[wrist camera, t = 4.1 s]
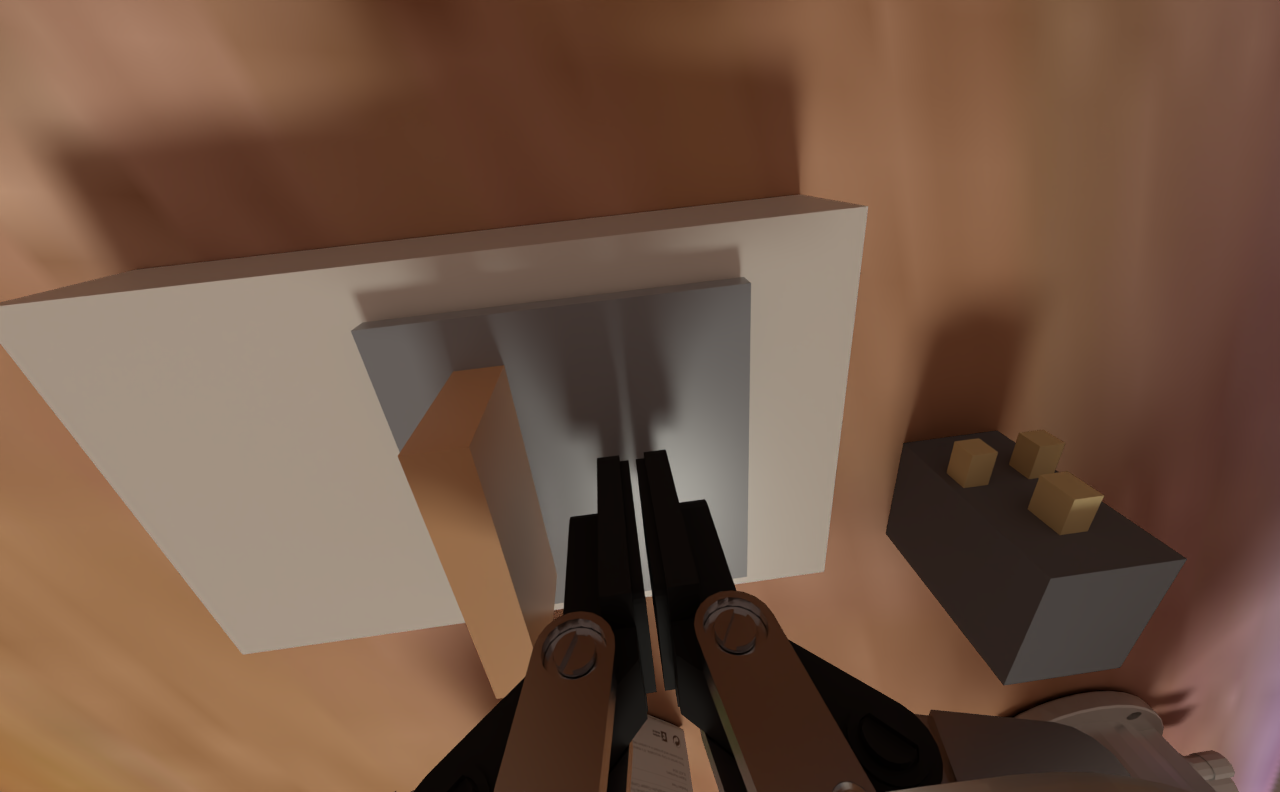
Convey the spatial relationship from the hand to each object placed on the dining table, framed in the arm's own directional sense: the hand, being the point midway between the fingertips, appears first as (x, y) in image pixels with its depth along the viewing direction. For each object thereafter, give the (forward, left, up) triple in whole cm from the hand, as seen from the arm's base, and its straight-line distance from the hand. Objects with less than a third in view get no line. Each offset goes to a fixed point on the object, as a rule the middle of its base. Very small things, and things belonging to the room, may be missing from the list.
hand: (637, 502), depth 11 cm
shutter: (+1, 0, -2) cm, 2 cm away
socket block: (+4, 0, -6) cm, 7 cm away
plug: (-13, +7, -6) cm, 16 cm away
